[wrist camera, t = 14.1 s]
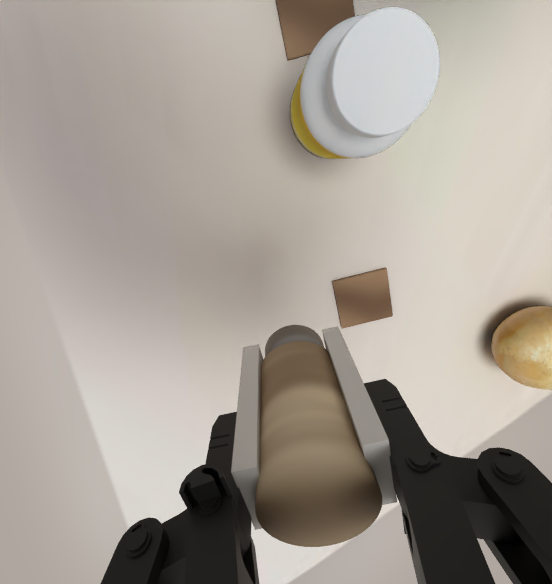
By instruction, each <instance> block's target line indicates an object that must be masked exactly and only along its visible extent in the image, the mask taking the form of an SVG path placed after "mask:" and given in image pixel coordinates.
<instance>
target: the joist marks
mask: <svg viewBox="0 0 552 584" xmlns="http://www.w3.org/2000/svg"><path fill="white" fill-rule="evenodd" d="M276 4H277V9H278V14H279V19H280V24H281V29H282V34H283V39H284V44H285V49H286V54H287V59H288V60H291V59H295V58H298V57H301V56H305V55H308V54H311V53H312V51H313V49H314V48H315V46H316V45H317V43H318V42H319V41H320V40H321V38H322V37H323V36H324V35H325V34H326V33H327V32H328V31H329V30H330V29H332V28H333V27H334V26H336V25H337V24H339V23H340V22H342V21H344V20H346V19H348V18H351V17H354V16H355V13H354V6H353V0H276ZM332 283H333V288H334V293H335V298H336V303H337V308H338V313H339V318H340V323H341V327H342V328H346V327H350V326H354V325H358V324H362V323H366V322H370V321H375V320H379V319H383V318H387V317H391V316H393V314H392V306H391V298H390V291H389V283H388V275H387V268H382V269H378V270H374V271H370V272H366V273H362V274H358V275H354V276H351V277H347V278H343V279H339V280H335V281H332Z"/></svg>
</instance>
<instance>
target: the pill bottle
mask: <svg viewBox="0 0 552 584" xmlns="http://www.w3.org/2000/svg"><path fill="white" fill-rule="evenodd" d="M439 71H440V56H439V49H438V45H437V41H436V38H435V36H434V34H433V32H432V30H431V29H430V27H429V25H428V24H427V23H426V22H425V21H424V20H423V19H422V18H421V17H420V16H419V15H417V14H416V13H414V12H412V11H410V10H408V9H404V8H400V7H385V8H381V9H378V10H375V11H372V12H370V13H368V14H364V15H358V16H354V17H351V18H348V19H346V20H344V21H342V22H340V23H339V24H337V25H336V26H334V27H333V28H332V29H330V30H329V31H328V32H327V33H326V34H325V35H324V36H323V37H322V38H321V40H320V41H319V42H318V43H317V45H316V46H315V48H314V49H313V51H312V53H311V55H310V57H309V59H308V61H307V63H306V65H305V68H304V70H303V72H302V74H301V76H300V78H299V81H298V83H297V85H296V87H295V89H294V92H293V95H292V99H291V104H290V121H291V125H292V129H293V132H294V134H295V136H296V138H297V139H298V141H299V142H300V144H301V145H302V146H303V147H304V148H305V149H306V150H307V151H309V152H310V153H312V154H314V155H316V156H318V157H322V158H328V159H340V158H363V157H368V156H371V155H375V154H377V153H380V152H382V151H384V150H385V149H387V148H389V147H390V146H391V145H393V144H394V143H395V142H396V141H398V140H399V139H400V138H401V137H402V135H403V134H404V133H405V132H406V131H407V129H408V128H409V127H410V125H411V124H412V123H413V122H414V121H415V120H416V119H417V118H418V117H419V116H420V115H421V114H422V113H423V111H424V110H425V109H426V107H427V106H428V104H429V102H430V100H431V98H432V96H433V94H434V92H435V89H436V86H437V82H438V78H439Z"/></svg>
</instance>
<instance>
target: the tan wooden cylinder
mask: <svg viewBox="0 0 552 584" xmlns="http://www.w3.org/2000/svg"><path fill="white" fill-rule="evenodd" d="M381 507H382V494H381V490H380V487H379V484H378V481H377V479H376V476H375V473H374V470H373V468H372V466H371V465H370V464H369V462H368V461H367V460H366V459H365V458H364V455H363V452H362V449H361V446H360V443H359V440H358V438H357V435H356V432H355V429H354V426H353V423H352V420H351V417H350V414H349V411H348V408H347V405H346V402H345V399H344V396H343V393H342V390H341V387H340V384H339V382H338V379H337V376H336V373H335V370H334V367H333V364H332V361H331V358H330V355H329V352H328V351H327V350H326V349H325V348H324V346H323V342H322V340H321V338H320V336H319V335H318V334H317V333H316V332H315V331H314V330H312V329H310V328H308V327H305V326H301V325H290V326H286V327H283V328H281V329H279V330H277V331H276V332H274V333H273V334H272V335H271V337H270V338H269V340H268V341H267V344H266V347H265V358H264V360H263V361H262V363H261V393H260V476H259V478H258V480H257V484H256V499H255V511H256V517H257V520H258V522H259V524H260V525H261V526H262V528H263V529H264V530H265V531H266V532H267V533H268V534H270V535H271V536H272V537H274V538H276V539H278V540H280V541H283V542H285V543H288V544H292V545H297V546H304V547H320V546H328V545H333V544H338V543H341V542H344V541H346V540H349V539H351V538H353V537H355V536H357V535H359V534H360V533H362V532H363V531H365V530H366V529H367V528H368V527H369V526H370V525H371V524H372V523H373V522H374V521H375V519H376V518H377V517H378V515H379V513H380V510H381Z"/></svg>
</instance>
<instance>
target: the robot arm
mask: <svg viewBox="0 0 552 584" xmlns="http://www.w3.org/2000/svg"><path fill="white" fill-rule="evenodd" d="M322 332H323V336H324V341H325V346H326V350H327V351H328V352H329V355H330V358H331V361H332V364H333V367H334V370H335V373H336V376H337V379H338V382H339V384H340V387H341V390H342V393H343V396H344V399H345V402H346V405H347V408H348V411H349V414H350V417H351V420H352V423H353V426H354V429H355V432H356V435H357V438H358V440H359V443H360V446H361V449H362V452H363V455H364V458H365V459H366V460H367V461H368V462H369V464H370V465H371V466H372V468H373V470H374V473H375V476H376V479H377V481H378V484H379V487H380V490H381V494H382V505H384V504H389V503H394V502H397V498H398V500H399V503H400V505H401V508H402V516H403V523H404V531H405V534H407V538H408V543H409V547H410V551H411V555H412V560H413V564H414V568H415V573H416V577H417V581H418V584H495V582H494V580H493V577H492V575H491V572H490V570H489V567H488V565H487V562H486V560H485V557H484V555H483V553H482V550H481V548H480V545H479V543H478V540H477V538H479V539H484V541H485V542H486V544H487V545H488V547H489V548H490V550H491V551H492V553H493V554H494V556H495V557H496V559H497V560H498V562H499V563H500V565H501V566H502V568H503V569H504V571H505V572H506V574H507V575H508V577H509V578H510V580H511V581H512V583H513V584H552V483H551V482H550V481H549V480H548V479H547V478H546V477H545V476H544V475H543V474H542V473H541V472H540V471H539V470H538V469H537V468H536V467H535V466H534V465H533V464H532V463H531V462H530V461H529V460H527V459H526V458H525V457H524V456H522V455H521V454H519V453H516V452H514V451H512V450H509V449H504V448H489V449H487V450H485V451H483V452H481V454H480V456H479V458H478V459H471V458H460V457H454V456H450V455H447V454H444V453H442V452H440V451H438V450H437V449H435V448H434V447H433V446H432V445H431V444H430V443H429V442H428V441H427V439H426V438H425V436H424V434H423V433H422V431H421V429H420V427H419V426H418V424H417V422H416V421H415V419H414V417H413V415H412V414H411V412H410V410H409V408H408V407H407V405H406V403H405V402H404V400H403V399H402V396H401V395H400V393H399V391H398V390H397V388H396V386H394V385H393V384H392V383H390V382H389V381H387V380H386V379H383V380H378V381H373V382H369V383H363V381H362V379H361V377H360V375H359V372H358V370H357V368H356V366H355V363H354V361H353V359H352V357H351V354H350V352H349V350H348V348H347V346H346V343H345V341H344V339H343V337H342V334H341V332H340V330H339V328H338V327H333V328H329V329H324V330H322ZM262 361H263V357H262V354H261V351H260V347H259V344H258V345H254V346H249V347H245V348H243V356H242V366H241V376H240V386H239V397H238V407H237V412H233V413H229V414H224V415H220V416H219V417H218V418H217V420H216V422H215V423H214V425H213V427H212V432H211V437H210V439H211V440H210V443H209V450H208V454H207V459H206V465H201V466H199V467H198V468H196V469H194V470H193V471H192V472H190V473H189V474H188V475H187V476H186V478H185V479H184V481H183V482H182V484H181V487H180V491H179V493H180V495H181V497H182V499H183V501H184V503H185V505H186V506H187V509H186V510H185V511H183V512H182V513H180V514H179V515H177V516H175V517H173V518H171V519H169V520H168V521H166V522H164V523H162V524H161V523H160V522H159V521H158V520H157V519H156V518H146V519H143V520H140V521H138V522H137V523H136V524H134V525H133V526H131V527H130V528H129V529H128V531H127V532H126V533H125V534H124V535H123V537H122V538H121V540H120V542H119V543H118V545H117V548H116V550H115V552H114V554H113V557H112V559H111V561H110V564H109V566H108V568H107V571H106V573H105V575H104V578H103V580H102V582H101V584H259V578H258V570H257V561H256V553H255V546H254V543H253V540H252V538H251V521H252V523H253V526H254V528H255V530H256V529H261V528H262V526H261V525H260V524H259V522H258V520H257V517H256V511H255V499H256V484H257V480H258V478H259V476H260V393H261V363H262ZM396 495H397V498H396Z"/></svg>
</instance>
